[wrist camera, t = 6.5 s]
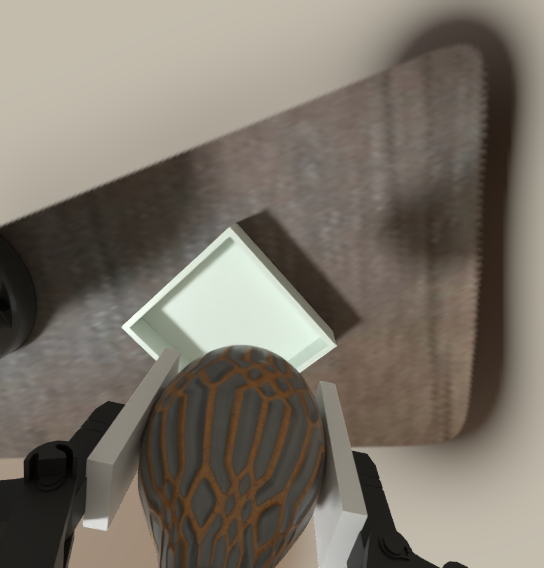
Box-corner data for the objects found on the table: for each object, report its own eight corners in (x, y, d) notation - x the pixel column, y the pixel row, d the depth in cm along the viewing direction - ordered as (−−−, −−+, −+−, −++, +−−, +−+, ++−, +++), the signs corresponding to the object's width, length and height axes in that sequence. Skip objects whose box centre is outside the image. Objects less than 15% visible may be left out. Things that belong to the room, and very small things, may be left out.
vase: (196, 304, 15) (86, 458, 7) (336, 347, 16) (397, 543, 7) (165, 420, 17) (52, 648, 9) (290, 456, 18) (295, 706, 9)
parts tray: (137, 314, 31) (121, 327, 28) (236, 222, 28) (229, 226, 25) (231, 405, 33) (224, 426, 30) (332, 330, 30) (336, 346, 27)
